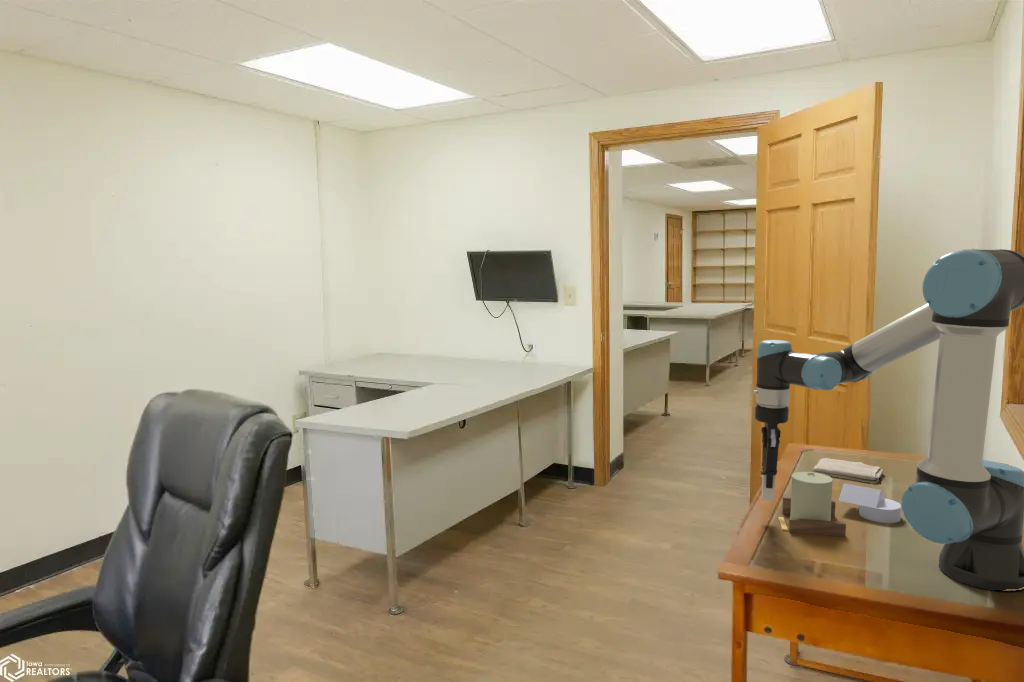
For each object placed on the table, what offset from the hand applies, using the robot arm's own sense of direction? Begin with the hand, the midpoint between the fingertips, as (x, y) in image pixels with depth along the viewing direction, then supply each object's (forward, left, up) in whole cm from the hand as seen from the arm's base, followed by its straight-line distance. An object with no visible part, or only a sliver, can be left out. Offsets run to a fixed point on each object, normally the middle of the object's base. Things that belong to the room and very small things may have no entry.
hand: (767, 499), depth 167 cm
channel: (0, -10, -5) cm, 12 cm away
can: (0, -10, -5) cm, 11 cm away
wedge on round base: (+10, -25, -6) cm, 28 cm away
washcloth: (+44, -27, -6) cm, 52 cm away
